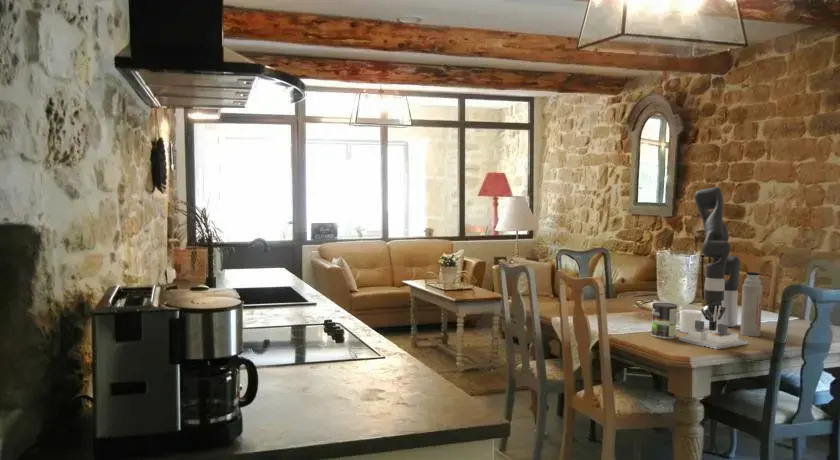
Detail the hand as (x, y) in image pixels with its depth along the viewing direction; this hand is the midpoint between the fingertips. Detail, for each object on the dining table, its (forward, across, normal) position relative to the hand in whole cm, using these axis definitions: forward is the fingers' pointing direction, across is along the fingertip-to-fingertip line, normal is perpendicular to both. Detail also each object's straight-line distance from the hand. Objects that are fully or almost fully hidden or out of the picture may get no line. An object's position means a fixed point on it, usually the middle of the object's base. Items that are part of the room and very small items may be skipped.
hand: (712, 330), depth 276 cm
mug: (+7, -16, -24) cm, 30 cm away
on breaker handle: (+2, -4, -9) cm, 10 cm away
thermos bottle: (+7, -36, -6) cm, 37 cm away
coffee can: (+7, +2, -22) cm, 24 cm away
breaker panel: (+7, -7, -4) cm, 10 cm away
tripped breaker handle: (+2, -7, 0) cm, 7 cm away
